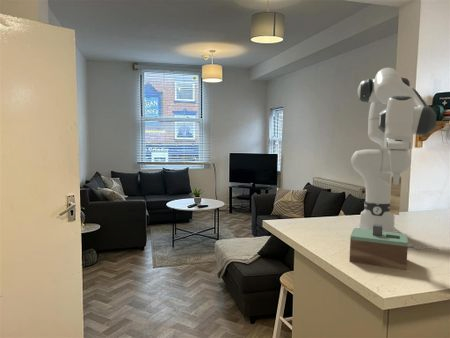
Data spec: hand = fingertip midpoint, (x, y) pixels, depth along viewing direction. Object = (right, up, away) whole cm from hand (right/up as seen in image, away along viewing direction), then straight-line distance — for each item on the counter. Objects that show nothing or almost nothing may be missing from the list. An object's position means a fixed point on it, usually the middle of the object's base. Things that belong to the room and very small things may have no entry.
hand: (395, 183), depth 123 cm
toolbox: (-4, -29, +5) cm, 29 cm away
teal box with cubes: (-4, -20, +4) cm, 21 cm away
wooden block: (0, -11, +1) cm, 11 cm away
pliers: (+18, -28, +21) cm, 39 cm away
